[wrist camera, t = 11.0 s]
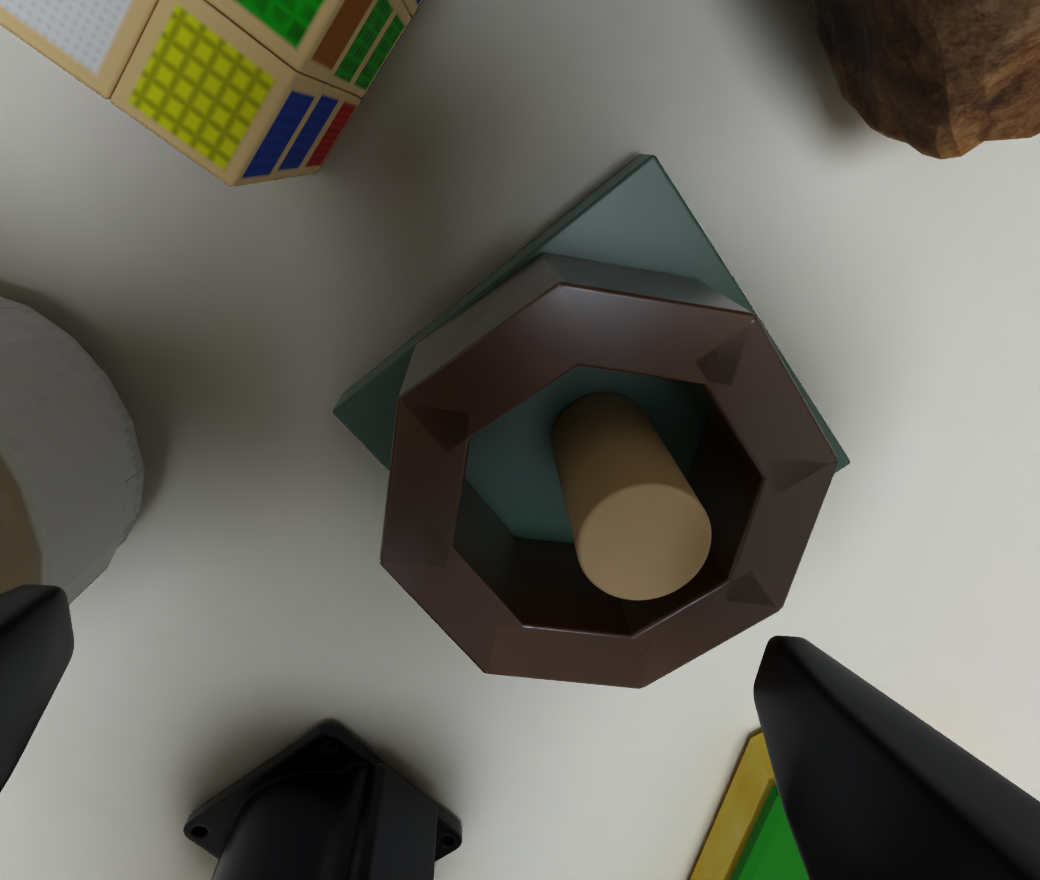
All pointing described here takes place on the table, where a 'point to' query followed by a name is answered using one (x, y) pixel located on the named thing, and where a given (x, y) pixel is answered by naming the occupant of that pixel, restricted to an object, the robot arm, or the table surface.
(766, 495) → the ring
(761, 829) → the dish sponge
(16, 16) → the rubik's cube
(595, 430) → the peg stand
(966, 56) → the brown rounded block
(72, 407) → the coffee cup
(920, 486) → the table surface
